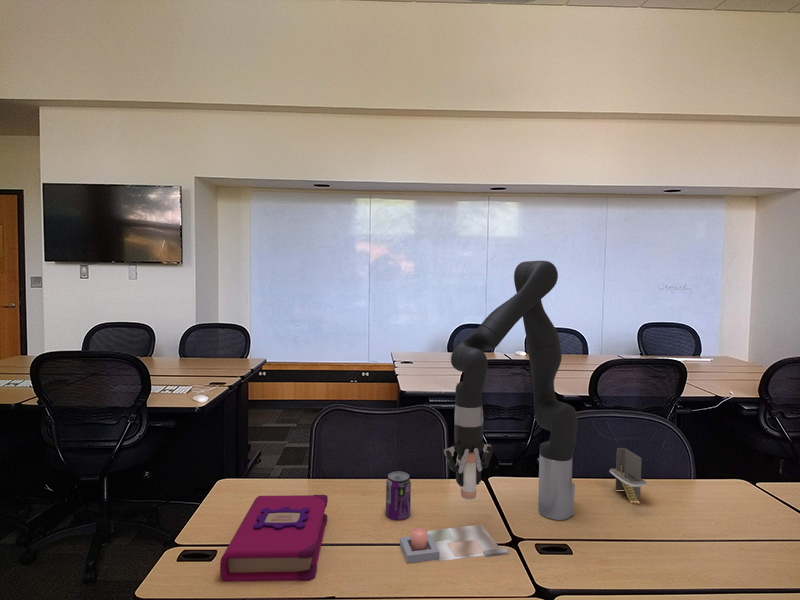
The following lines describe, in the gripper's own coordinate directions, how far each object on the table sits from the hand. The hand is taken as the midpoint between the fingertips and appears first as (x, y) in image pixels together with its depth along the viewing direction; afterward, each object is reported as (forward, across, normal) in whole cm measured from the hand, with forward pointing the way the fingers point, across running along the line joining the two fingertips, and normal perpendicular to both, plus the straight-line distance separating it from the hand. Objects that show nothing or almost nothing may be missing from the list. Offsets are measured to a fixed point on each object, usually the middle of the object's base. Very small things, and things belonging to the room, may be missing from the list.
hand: (468, 484), depth 123 cm
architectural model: (+16, -58, -10) cm, 61 cm away
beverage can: (+14, +16, -13) cm, 25 cm away
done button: (+12, +15, +6) cm, 20 cm away
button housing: (+13, +16, +6) cm, 21 cm away
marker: (+3, 0, 0) cm, 3 cm away
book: (+13, +49, -5) cm, 51 cm away
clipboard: (+14, +4, +4) cm, 15 cm away
